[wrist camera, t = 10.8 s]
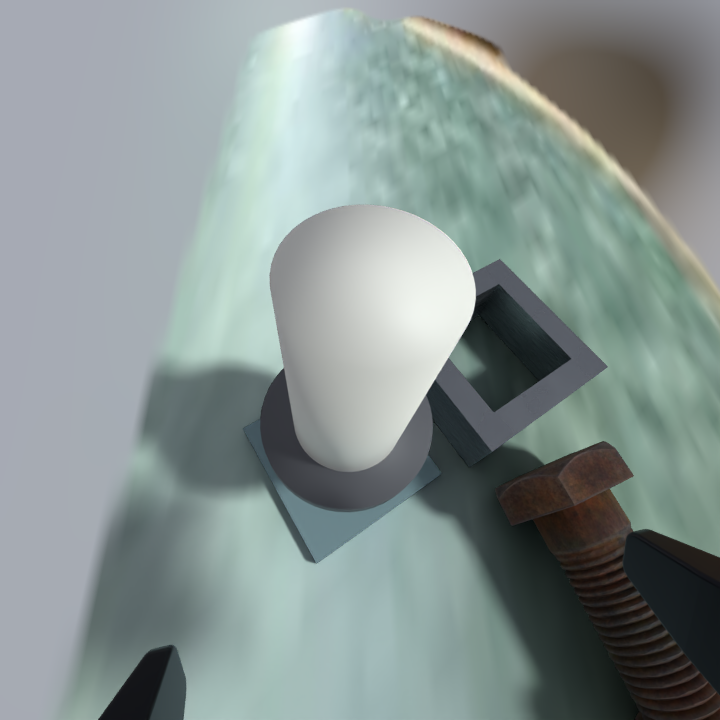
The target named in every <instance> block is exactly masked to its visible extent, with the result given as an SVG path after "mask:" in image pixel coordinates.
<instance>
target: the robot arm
mask: <svg viewBox="0 0 720 720" xmlns="http://www.w3.org/2000/svg"><path fill="white" fill-rule="evenodd" d="M622 564H623V569H624V572H625V574H626V575H627V577H628V578H629V580H630V581H631V582H632V584H633V585H634V587H635V588H636V589H637V591H638V592H639V593H640V595H641V596H642V597H643V599H644V600H645V602H646V603H647V604H648V606H649V607H650V608H651V610H652V611H653V612H654V614H655V615H656V616H657V618H658V619H659V621H660V622H661V623H662V625H663V626H664V627H665V629H666V630H667V631H668V633H669V634H670V636H671V637H672V638H673V640H674V641H675V642H676V644H677V645H678V646H679V647H680V649H681V650H682V651H683V653H684V654H685V655H686V656H687V658H688V659H689V660H690V661H691V662H692V664H693V665H694V666H695V667H696V668H697V670H698V671H699V672H700V673H701V674H702V675H703V677H704V678H705V679H706V680H707V681H708V682H709V684H710V685H711V686H712V687H713V688H714V690H715V691H716V692H717V693H718V694H719V695H720V557H717V556H715V555H712V554H710V553H707V552H705V551H702V550H700V549H697V548H695V547H692V546H690V545H687V544H685V543H682V542H680V541H677V540H675V539H672V538H670V537H667V536H664V535H662V534H659V533H657V532H654V531H652V530H648V529H643V530H639V531H634V532H631V533H629V534H628V535H627V537H626V542H625V548H624V555H623V562H622ZM185 699H186V678H185V674H184V671H183V667H182V664H181V660H180V657H179V654H178V650H177V648H176V647H175V646H174V645H167V646H163V647H159V648H155V649H152V650H150V651H149V652H148V653H146V655H145V656H144V657H143V658H142V660H141V661H140V663H139V664H138V665H137V667H136V668H135V669H134V671H133V672H132V674H131V675H130V676H129V678H128V679H127V681H126V682H125V683H124V685H123V686H122V687H121V689H120V690H119V692H118V693H117V694H116V696H115V697H114V698H113V700H112V701H111V703H110V704H109V705H108V707H107V708H106V709H105V711H104V712H103V714H102V715H101V716H100V718H99V719H98V720H183V719H184V709H185Z"/></svg>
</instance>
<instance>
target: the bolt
mask: <svg viewBox="0 0 720 720" xmlns="http://www.w3.org/2000/svg"><path fill="white" fill-rule="evenodd" d="M633 476H634V475H633V474H632V472H631V471H630V469H629V468H628V466H627V465H626V463H625V462H624V460H623V459H622V457H621V456H620V454H619V453H618V451H617V450H616V449H615V448H614V447H613V446H611V445H610V444H609V443H607V442H604V441H602V442H600V443H597V444H595V445H592V446H589V447H587V448H585V449H582V450H580V451H577V452H574V453H572V454H569V455H567V456H564V457H562V458H560V459H558V460H555V461H553V462H551V463H548V464H546V465H544V466H542V467H539V468H537V469H535V470H533V471H531V472H528V473H526V474H523V475H521V476H519V477H517V478H515V479H513V480H511V481H508V482H506V483H504V484H503V485H501V486H499V487H497V488H495V491H496V495H497V498H498V500H499V502H500V504H501V506H502V508H503V510H504V512H505V514H506V516H507V518H508V520H509V522H510V524H511V525H512V526H513V525H516V524H519V523H522V522H526V521H529V520H532V519H533V521H534V523H535V524H536V526H537V528H538V530H539V532H540V534H541V535H542V537H543V539H544V541H545V543H546V545H547V547H548V548H549V550H550V552H551V553H552V554H554V555H555V557H556V559H557V560H558V561H559V562H561V563H560V566H561V567H562V569H564V570H566V571H565V575H566V577H567V578H570V580H569V582H570V584H571V585H572V586H573V587H575V588H574V592H575V594H577V595H579V598H578V599H579V601H580V603H581V604H583V608H584V611H585V612H586V613H588V617H589V620H590V621H591V622H592V623H594V624H593V627H594V629H595V630H596V631H597V632H598V636H599V638H600V640H602V641H603V642H604V644H603V645H604V647H605V648H606V650H607V651H608V652H609V657H610V659H612V660H613V661H614V664H615V668H616V669H617V670H618V671H619V675H620V676H621V678H622V679H623V681H624V682H625V686H626V688H627V689H628V690H629V692H630V694H631V697H632V699H633V700H634V701H635V702H636V706H637V708H638V710H639V712H638V714H637V716H636V718H635V720H720V695H719V694H718V693H717V692H716V691H715V690H714V688H713V687H712V686H711V685H710V684H709V682H708V681H707V680H706V679H705V678H704V677H703V675H702V674H701V673H700V672H699V671H698V670H697V668H696V667H695V666H694V665H693V664H692V662H691V661H690V660H689V659H688V658H687V656H686V655H685V654H684V653H683V651H682V650H681V649H680V647H679V646H678V645H677V644H676V642H675V641H674V640H673V638H672V637H671V636H670V634H669V633H668V631H667V630H666V629H665V627H664V626H663V625H662V623H661V622H660V621H659V619H658V618H657V616H656V615H655V614H654V612H653V611H652V610H651V608H650V607H649V606H648V604H647V603H646V602H645V600H644V599H643V597H642V596H641V595H640V593H639V592H638V591H637V589H636V588H635V587H634V585H633V584H632V582H631V581H630V580H629V578H628V577H627V575H626V574H625V572H624V569H623V564H622V562H623V555H624V548H625V542H626V537H627V535H628V534H629V533H631V532H633V530H632V528H631V522H630V521H629V519H628V517H627V516H626V514H625V513H624V511H623V509H622V508H621V506H620V505H619V503H618V501H617V500H616V498H615V497H614V495H613V494H612V492H611V490H610V489H609V488H611V487H613V486H615V485H617V484H619V483H621V482H623V481H625V480H627V479H629V478H631V477H633Z"/></svg>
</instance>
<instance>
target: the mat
mask: <svg viewBox="0 0 720 720" xmlns="http://www.w3.org/2000/svg"><path fill="white" fill-rule="evenodd" d="M243 430H244V432H245V434H246V435H247V437H248V439H249V441H250V443H251V445H252V446H253V448H254V450H255V452H256V454H257V456H258V457H259V459H260V461H261V463H262V465H263V467H264V468H265V470H266V472H267V474H268V476H269V478H270V479H271V481H272V483H273V485H274V487H275V489H276V490H277V492H278V494H279V496H280V498H281V500H282V501H283V503H284V505H285V507H286V509H287V510H288V512H289V514H290V516H291V518H292V520H293V521H294V523H295V525H296V527H297V529H298V531H299V532H300V534H301V536H302V538H303V540H304V542H305V543H306V545H307V547H308V549H309V551H310V553H311V554H312V556H313V558H314V560H315V562H316V564H317V563H318V562H320V561H321V560H322V559H324V558H325V557H327V556H328V555H329V554H331V553H332V552H334V551H335V550H336V549H338V548H339V547H341V546H342V545H343V544H345V543H346V542H348V541H349V540H350V539H352V538H353V537H355V536H356V535H357V534H359V533H360V532H362V531H363V530H364V529H366V528H367V527H368V526H370V525H371V524H373V523H374V522H375V521H377V520H378V519H380V518H381V517H382V516H384V515H385V514H387V513H388V512H389V511H391V510H392V509H394V508H395V507H396V506H398V505H399V504H401V503H402V502H403V501H405V500H406V499H408V498H409V497H410V496H412V495H413V494H415V493H416V492H417V491H419V490H420V489H422V488H423V487H424V486H426V485H427V484H428V483H430V482H431V481H433V480H434V479H435V478H437V477H438V476H440V475H441V474H442V473H441V471H440V470H439V469H438V467H437V466H436V464H435V463H434V462H433V460H432V459H431V457H430V456H429V455H427V458H426V460H425V462H424V464H423V466H422V468H421V470H420V471H419V472H418V474H417V475H416V477H415V478H414V479H413V480H412V481H411V482H410V483H409V484H408V485H407V486H406V487H405V488H404V489H403V490H402V491H401V492H400V493H399V494H397V495H396V496H395V497H394V498H392V499H390V500H389V501H387V502H385V503H384V504H381V505H379V506H377V507H374V508H371V509H367V510H363V511H357V512H335V511H329V510H324V509H321V508H318V507H315V506H313V505H311V504H309V503H307V502H304V501H303V500H301V499H300V498H298V497H297V496H295V495H294V494H293V493H292V492H291V491H290V490H288V489H287V488H286V487H285V485H284V484H283V483H282V482H281V481H280V480H279V478H278V477H277V475H276V474H275V472H274V470H273V469H272V466H271V464H270V462H269V460H268V458H267V455H266V453H265V450H264V447H263V443H262V439H261V432H260V419H259V420H257V421H255V422H254V423H252V424H250V425H248V426H246V427H245V428H243Z"/></svg>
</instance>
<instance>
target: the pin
mask: <svg viewBox="0 0 720 720" xmlns="http://www.w3.org/2000/svg"><path fill="white" fill-rule="evenodd" d="M270 290H271V296H272V301H273V307H274V313H275V319H276V324H277V330H278V336H279V342H280V347H281V353H282V359H283V365H284V368H283V369H282V370H281V371H280V373H279V374H278V375H277V376H276V378H275V379H274V381H273V382H272V384H271V386H270V387H269V389H268V391H267V394H266V396H265V399H264V402H263V406H262V410H261V418H260V432H261V439H262V443H263V447H264V450H265V453H266V455H267V458H268V460H269V462H270V464H271V466H272V469H273V470H274V472H275V474H276V475H277V477H278V478H279V480H280V481H281V482H282V483H283V484H284V485H285V487H286V488H287V489H288V490H290V491H291V492H292V493H293V494H294V495H295V496H297V497H298V498H300V499H301V500H303V501H304V502H307V503H309V504H311V505H313V506H315V507H318V508H321V509H324V510H329V511H335V512H357V511H363V510H367V509H371V508H374V507H377V506H379V505H381V504H384V503H385V502H387V501H389V500H390V499H392V498H394V497H395V496H396V495H397V494H399V493H400V492H401V491H402V490H403V489H404V488H405V487H406V486H407V485H408V484H409V483H410V482H411V481H412V480H413V479H414V478H415V477H416V475H417V474H418V472H419V471H420V470H421V468H422V466H423V464H424V462H425V460H426V458H427V455H428V453H429V450H430V446H431V441H432V433H433V422H432V413H431V408H430V404H429V402H428V399H427V396H426V394H427V392H428V390H429V389H430V387H431V385H432V384H433V382H434V380H435V379H436V377H437V375H438V374H439V372H440V370H441V369H442V367H443V366H444V364H445V362H446V361H447V359H448V357H449V356H450V354H451V352H452V351H453V349H454V347H455V346H456V344H457V342H458V341H459V339H460V337H461V336H462V334H463V332H464V331H465V329H466V327H467V325H468V324H469V322H470V320H471V317H472V314H473V311H474V306H475V301H476V288H475V282H474V277H473V274H472V271H471V268H470V266H469V264H468V262H467V260H466V258H465V256H464V255H463V253H462V252H461V250H460V249H459V248H458V247H457V245H456V244H455V243H454V242H453V241H452V240H451V239H450V238H449V237H448V236H447V235H446V234H445V233H444V232H442V231H441V230H440V229H438V228H437V227H436V226H434V225H432V224H431V223H429V222H428V221H426V220H424V219H422V218H420V217H418V216H416V215H413V214H411V213H408V212H405V211H402V210H398V209H395V208H391V207H385V206H378V205H349V206H342V207H337V208H333V209H329V210H326V211H323V212H321V213H318V214H316V215H314V216H312V217H310V218H308V219H306V220H305V221H303V222H301V223H300V224H299V225H298V226H296V227H295V228H294V229H293V230H292V231H291V232H290V233H289V234H288V235H287V236H286V237H285V238H284V240H283V241H282V242H281V244H280V245H279V247H278V249H277V251H276V253H275V255H274V258H273V261H272V264H271V270H270Z"/></svg>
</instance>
